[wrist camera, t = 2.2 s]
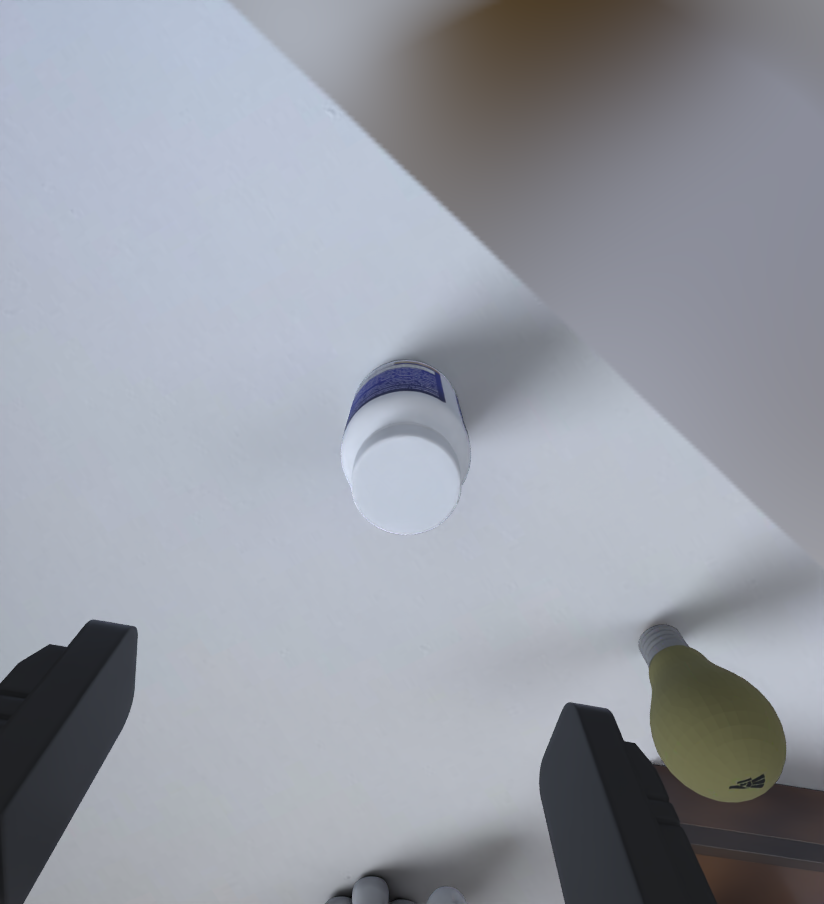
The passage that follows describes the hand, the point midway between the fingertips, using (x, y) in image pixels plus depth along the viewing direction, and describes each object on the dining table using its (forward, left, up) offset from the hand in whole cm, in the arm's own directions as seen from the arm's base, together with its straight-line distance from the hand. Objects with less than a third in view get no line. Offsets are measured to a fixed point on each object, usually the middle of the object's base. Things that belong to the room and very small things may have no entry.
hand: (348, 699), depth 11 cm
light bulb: (-18, +10, -20) cm, 28 cm away
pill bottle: (-1, 0, -20) cm, 20 cm away
